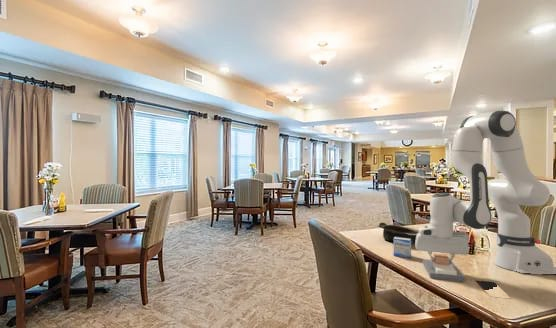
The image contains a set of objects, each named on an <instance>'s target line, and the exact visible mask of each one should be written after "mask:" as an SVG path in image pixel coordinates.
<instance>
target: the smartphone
mask: <svg viewBox="0 0 556 328" xmlns="http://www.w3.org/2000/svg"><path fill="white" fill-rule="evenodd" d="M475 281H476V282H477V283H478V284H477V283H476V282H475V283H476V284H477V285H478V287H480V288H481V289H482V290H483V291H484V290H489V289H493V287H497V285H498V284H497V282H494V281H486V280H479V279H478V280H475Z"/></svg>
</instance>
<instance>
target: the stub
mask: <svg viewBox="0 0 556 328" xmlns="http://www.w3.org/2000/svg"><path fill="white" fill-rule="evenodd" d="M432 255H433V256H432V257H434V258H435V262H433V263H434V264H443V265H449V258H450V257H449V256H448V255H447V253H436V252H432Z"/></svg>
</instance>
